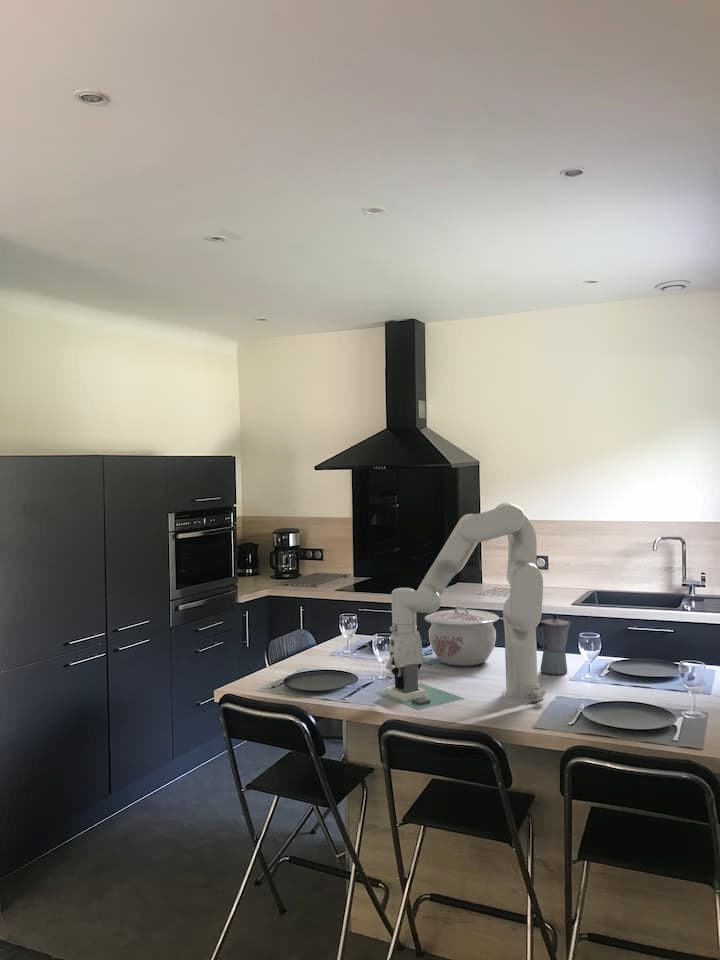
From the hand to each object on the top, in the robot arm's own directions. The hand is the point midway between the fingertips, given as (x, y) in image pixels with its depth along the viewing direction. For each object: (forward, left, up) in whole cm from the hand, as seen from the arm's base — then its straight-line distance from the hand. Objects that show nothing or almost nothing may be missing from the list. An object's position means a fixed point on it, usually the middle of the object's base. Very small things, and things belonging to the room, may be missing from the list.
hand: (406, 686), depth 234 cm
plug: (0, 0, -1) cm, 1 cm away
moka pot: (-7, -58, -4) cm, 58 cm away
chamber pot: (+24, -44, -4) cm, 50 cm away
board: (-3, -3, -4) cm, 6 cm away
